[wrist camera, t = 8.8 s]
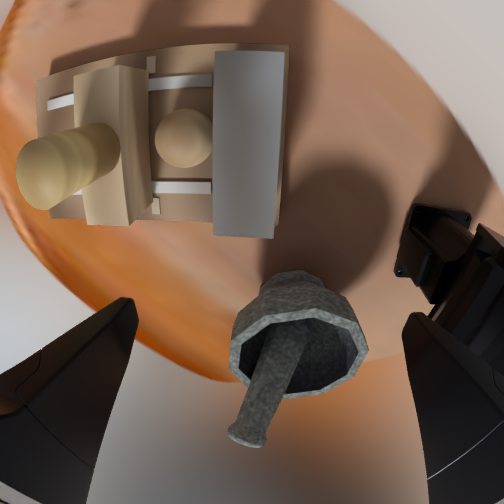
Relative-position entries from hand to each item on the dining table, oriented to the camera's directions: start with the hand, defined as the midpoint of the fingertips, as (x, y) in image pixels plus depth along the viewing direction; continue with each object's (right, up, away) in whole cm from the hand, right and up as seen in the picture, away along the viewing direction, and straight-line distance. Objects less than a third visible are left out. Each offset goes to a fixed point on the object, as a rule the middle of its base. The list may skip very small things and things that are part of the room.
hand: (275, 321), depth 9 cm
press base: (-8, +10, +10) cm, 16 cm away
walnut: (-4, +9, +8) cm, 13 cm away
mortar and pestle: (+2, -2, +16) cm, 17 cm away
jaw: (-9, +9, +8) cm, 15 cm away
